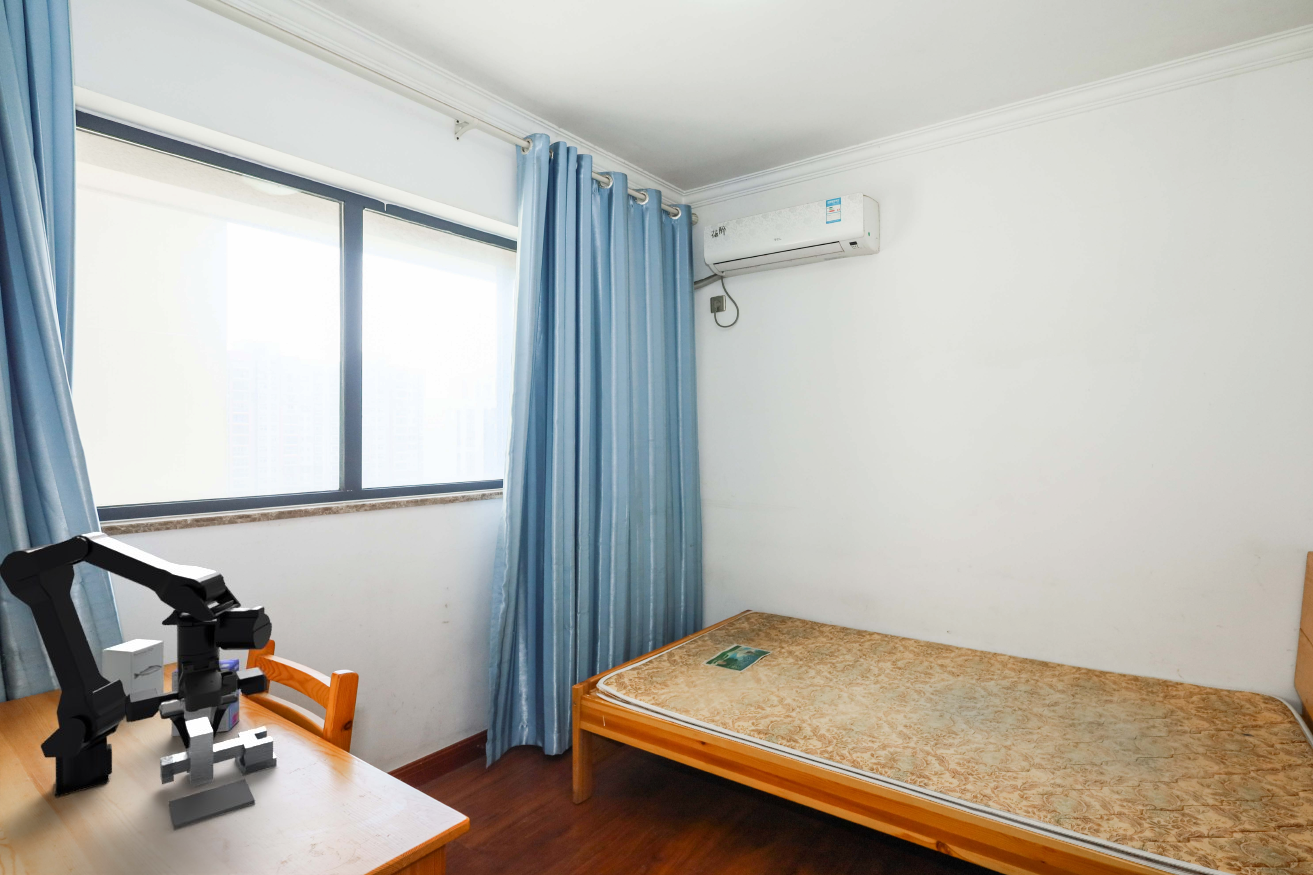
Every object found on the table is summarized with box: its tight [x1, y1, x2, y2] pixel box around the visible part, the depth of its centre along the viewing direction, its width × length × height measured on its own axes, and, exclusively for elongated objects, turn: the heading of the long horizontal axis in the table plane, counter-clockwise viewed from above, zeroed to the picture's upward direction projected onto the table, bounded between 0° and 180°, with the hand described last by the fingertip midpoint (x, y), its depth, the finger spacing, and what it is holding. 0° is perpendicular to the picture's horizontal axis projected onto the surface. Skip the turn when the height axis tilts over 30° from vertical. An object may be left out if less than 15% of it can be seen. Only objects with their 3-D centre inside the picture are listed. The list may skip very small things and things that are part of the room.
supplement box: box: [101, 638, 165, 696], centre depth 136 cm, size 7×7×13 cm
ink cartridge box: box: [170, 658, 240, 737], centre depth 126 cm, size 10×6×14 cm, turn 104°
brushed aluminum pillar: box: [185, 717, 214, 788], centre depth 108 cm, size 3×7×8 cm, turn 41°
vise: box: [159, 725, 278, 785], centre depth 110 cm, size 16×7×4 cm, turn 131°
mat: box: [168, 778, 256, 831], centre depth 101 cm, size 10×8×1 cm
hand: (199, 744), depth 108 cm, fingers closed on brushed aluminum pillar, 3 cm apart
